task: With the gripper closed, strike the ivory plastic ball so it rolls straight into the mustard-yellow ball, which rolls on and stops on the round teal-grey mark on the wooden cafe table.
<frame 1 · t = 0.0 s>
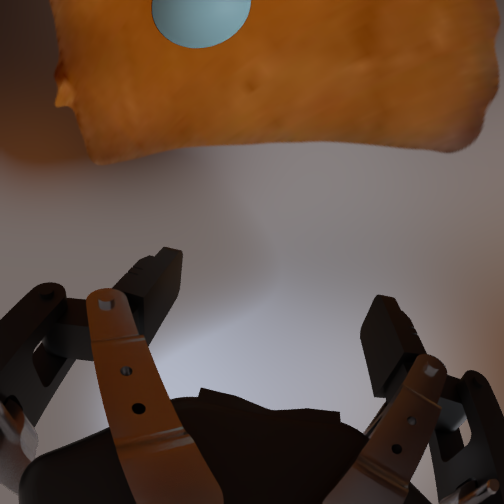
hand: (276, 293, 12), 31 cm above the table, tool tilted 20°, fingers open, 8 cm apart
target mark: (199, 3, 27), on the table
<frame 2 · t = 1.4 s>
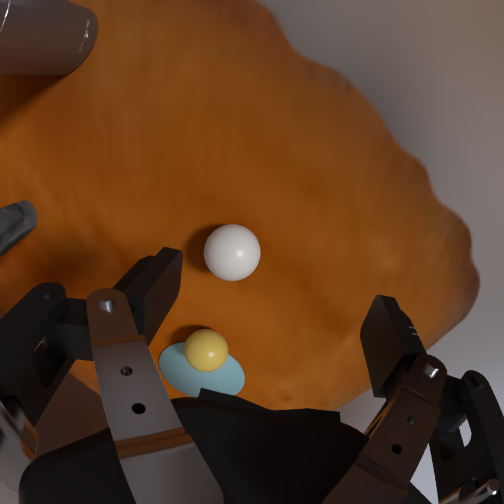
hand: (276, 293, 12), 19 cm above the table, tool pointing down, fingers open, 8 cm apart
beverage cup: (28, 214, 33), on the table
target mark: (200, 373, 41), on the table
cue ball: (232, 252, 29), on the table
yellow ball: (206, 350, 35), on the table
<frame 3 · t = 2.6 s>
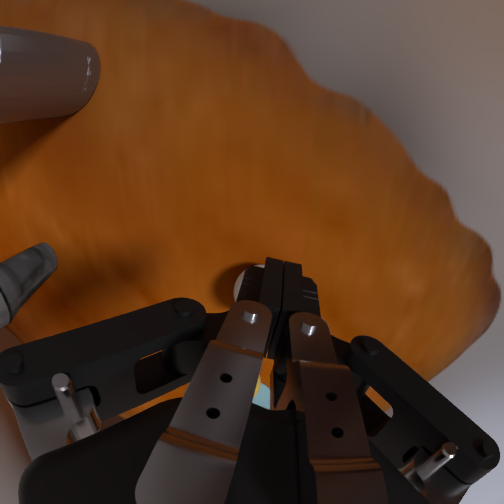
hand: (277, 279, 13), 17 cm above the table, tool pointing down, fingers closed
beverage cup: (47, 256, 35), on the table
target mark: (233, 400, 41), on the table
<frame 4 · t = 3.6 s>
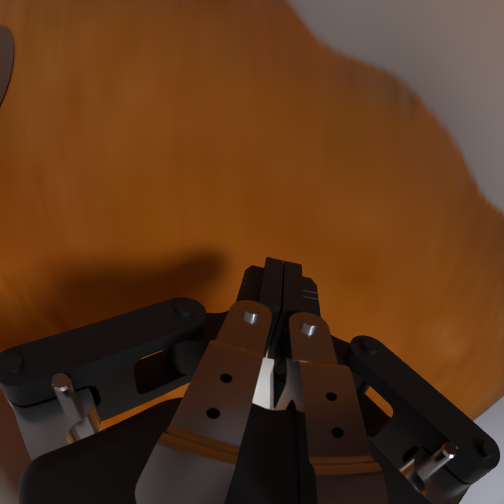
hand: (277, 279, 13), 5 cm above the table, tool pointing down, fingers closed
cue ball: (241, 378, 19), on the table
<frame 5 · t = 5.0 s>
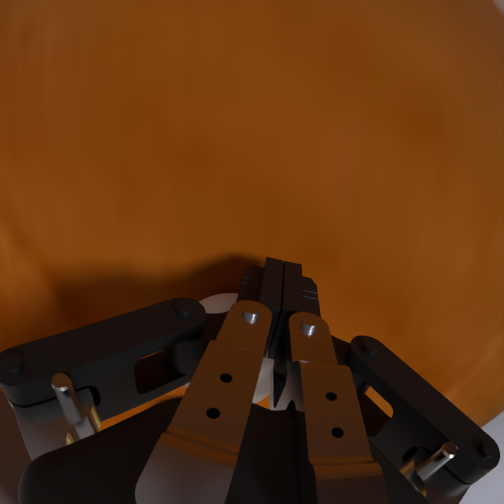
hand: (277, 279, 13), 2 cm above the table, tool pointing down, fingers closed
cue ball: (230, 351, 14), on the table
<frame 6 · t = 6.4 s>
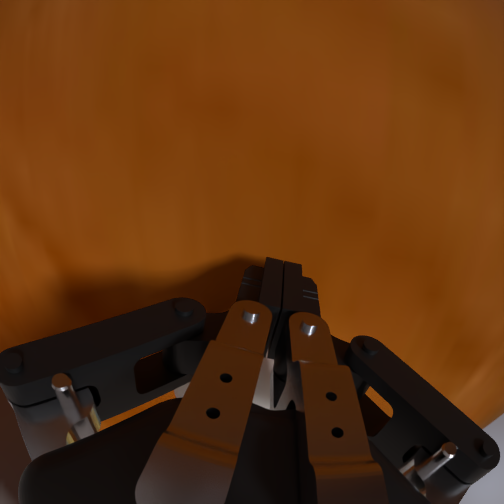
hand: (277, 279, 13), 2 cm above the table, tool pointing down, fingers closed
cue ball: (227, 380, 14), on the table
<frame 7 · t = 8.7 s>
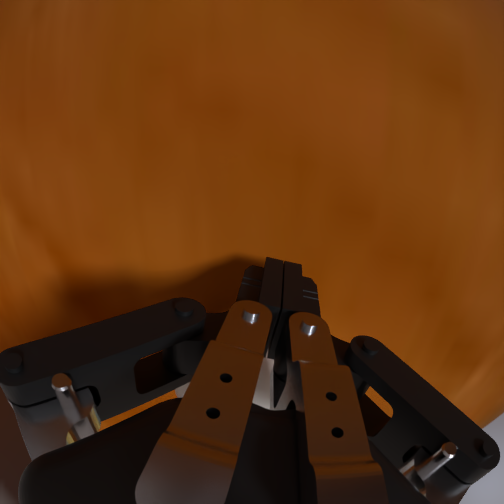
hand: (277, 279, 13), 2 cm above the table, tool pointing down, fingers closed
cue ball: (228, 379, 14), on the table
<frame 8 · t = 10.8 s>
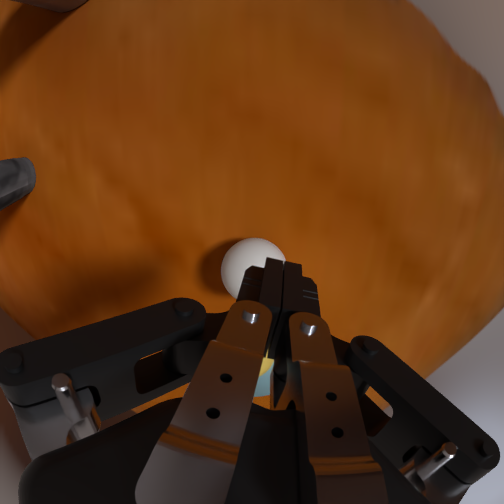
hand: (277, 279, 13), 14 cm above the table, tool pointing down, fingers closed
beverage cup: (25, 175, 27), on the table
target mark: (244, 361, 33), on the table
cue ball: (254, 271, 25), on the table
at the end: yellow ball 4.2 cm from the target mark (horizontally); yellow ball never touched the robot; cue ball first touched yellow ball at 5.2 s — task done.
